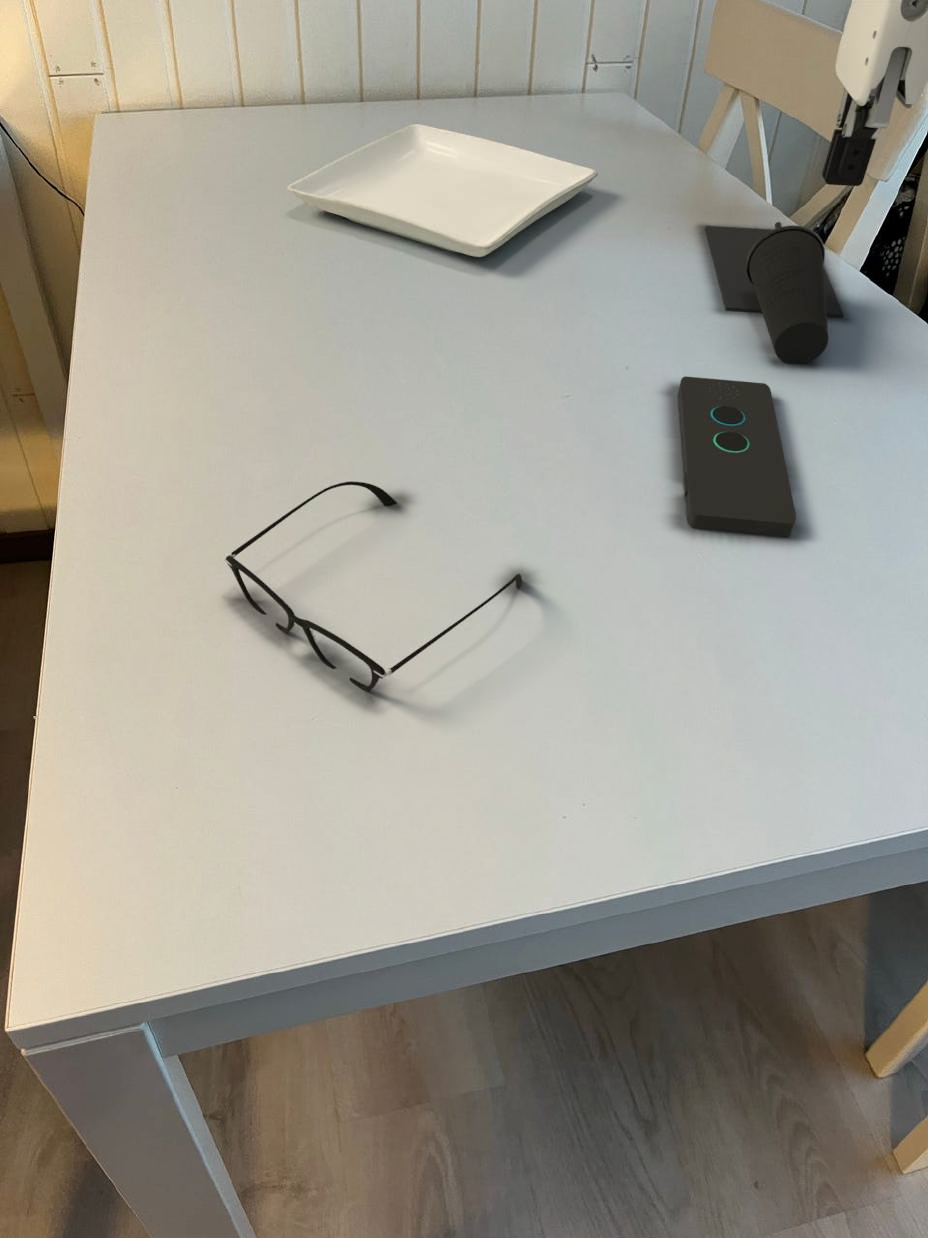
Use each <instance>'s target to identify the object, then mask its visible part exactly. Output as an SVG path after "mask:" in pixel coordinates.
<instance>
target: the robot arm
mask: <svg viewBox="0 0 928 1238" xmlns="http://www.w3.org/2000/svg"><path fill="white" fill-rule="evenodd" d="M835 74H836V76H837V77H838V79H839V81H840V82H841V84H842V86H843V93H842V97H841V100H840V104H839V109H838V114H837V116H836V117H837V118H836V121H835V122H836V123H835V127H836V128H834V130H833V133H832V137H831V140H830V143H829V147H828V151H827V155H826V158H825V160H824V165H823V168H822V171H821V176H822V178H823V179H824V182H825V184H826V185H829V186H848V187H860V186H861V185H862V184H863V182H864V179H865V176H866V173H867V169H868V167H869V163H870V161H871V158H872V154H873V151H874V148H875V145H876V142H877V140H878V138H879V135H880V133H881V131H882V129H887V128H888V126H889V124H890V120H891V116H892V112H893V108H894V103H895V99H897V100H898V101H899V102H900V104H901V105H902V106H903V107H904V108H905V109H909V110H910V109H914V108H915V107H916V106H917V105H918V104H919V102H920V100H921V98H922V95H923V92H924V88H925V86H926V83H927V78H928V0H851V3H850V6H849V9H848V13H847V17H846V20H845V24H844V27H843V30H842V35H841V38H840V42H839V46H838V50H837V55H836V60H835Z"/></svg>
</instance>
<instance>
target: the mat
mask: <svg viewBox="0 0 928 1238" xmlns="http://www.w3.org/2000/svg"><path fill="white" fill-rule="evenodd" d="M772 230H773V229H766V228H753V227H751V228H750V227H735V226H719V225H718V226H717V225H705V228H704V231H705V234H706V239H707V243H708V248H709V251H710V255H711V259H712V263H713V267H714V270H715V274H716V275H715V276H716V278H717V279H716V280H717V282H718V287H719V289H720V291H719V292H720V294H721V298H722V302H723V306H724V311H725V312H736V313H737V312H738V313H739V312H740V313H741V312H742V313H754V314H755V313H756V314H763V313H762V310H761V307H760V304H759V301H758V298H757V295H756V291H755V288H754V285H753V284H752V283H751V282H750V280H749V278H748V275H747V271H746V262H747V257H748V254H749V252H750V250H751V249H752V247H753V246H754V244H755V243H756V242H757V241H758V240H759V239H760V238H761V237H762V236H764V235H765V234H767V233H768V232H770V231H772ZM823 271H824V285H825V299H826V313H827V318H835V319H843V318H844V315H845V314H844V312H843V309H842V308H841V305H840V302H839V300H838V297H837V296H836V294H835V291H834V289H833V286H832V284H831V282H830V280H829V277H828V274H827V271H826V270H825V268H824V267H823Z"/></svg>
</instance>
